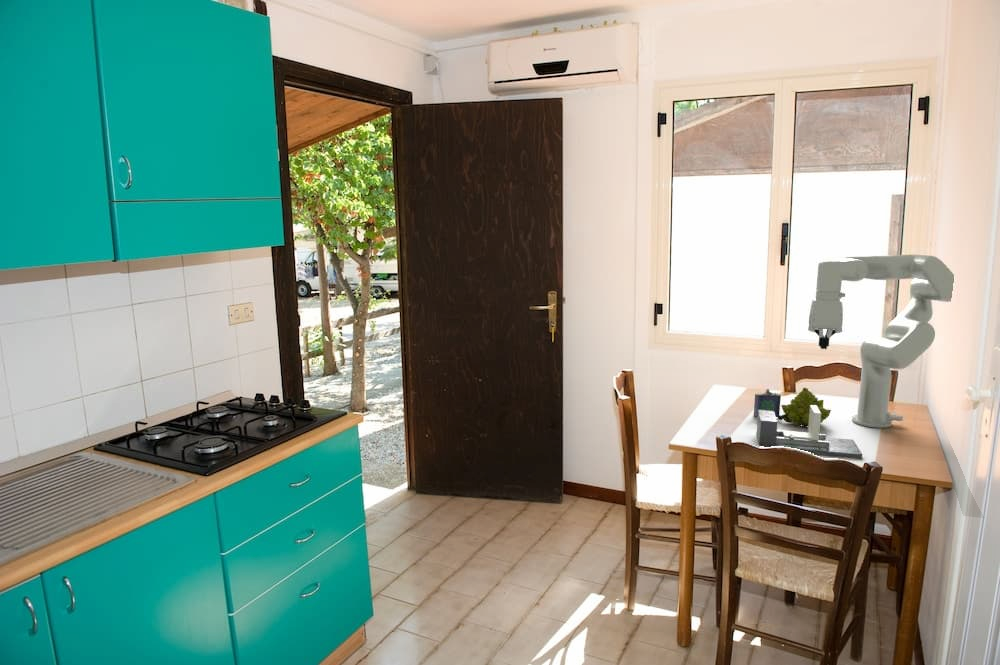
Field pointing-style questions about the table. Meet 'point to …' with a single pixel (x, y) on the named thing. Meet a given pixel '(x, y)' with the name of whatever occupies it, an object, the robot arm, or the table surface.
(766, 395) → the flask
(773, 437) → the base
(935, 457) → the table surface
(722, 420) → the table surface
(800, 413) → the vegetable
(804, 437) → the white block
